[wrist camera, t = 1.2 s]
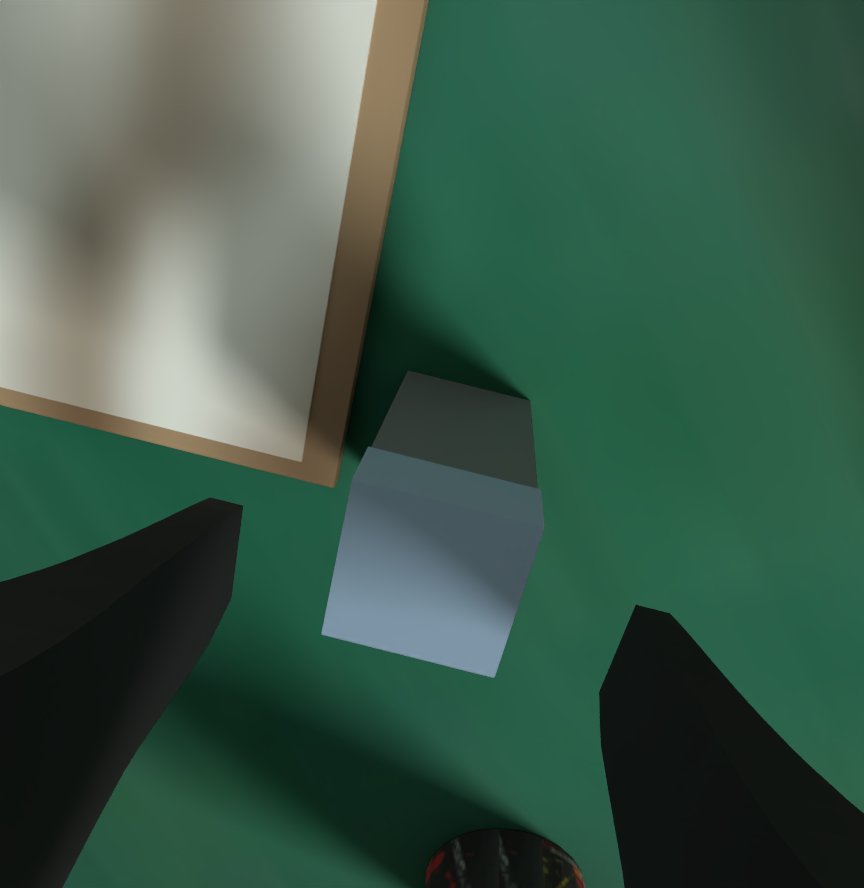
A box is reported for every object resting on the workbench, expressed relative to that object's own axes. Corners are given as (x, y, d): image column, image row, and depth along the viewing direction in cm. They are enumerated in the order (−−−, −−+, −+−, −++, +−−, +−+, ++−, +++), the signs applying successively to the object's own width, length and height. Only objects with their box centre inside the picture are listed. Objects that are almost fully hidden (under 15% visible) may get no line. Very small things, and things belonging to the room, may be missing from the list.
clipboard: (-60, 379, 20) (-108, 398, 19) (-110, -362, 14) (-189, -427, 12) (338, 478, 20) (323, 505, 19) (470, -222, 14) (465, -270, 12)
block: (381, 481, 20) (321, 634, 14) (406, 367, 19) (352, 478, 12) (499, 510, 20) (494, 677, 14) (532, 399, 19) (544, 527, 12)
